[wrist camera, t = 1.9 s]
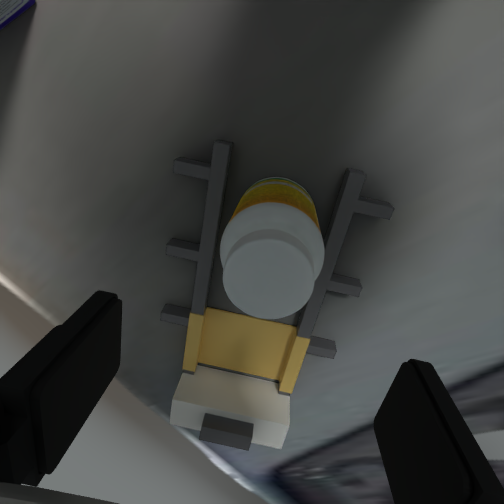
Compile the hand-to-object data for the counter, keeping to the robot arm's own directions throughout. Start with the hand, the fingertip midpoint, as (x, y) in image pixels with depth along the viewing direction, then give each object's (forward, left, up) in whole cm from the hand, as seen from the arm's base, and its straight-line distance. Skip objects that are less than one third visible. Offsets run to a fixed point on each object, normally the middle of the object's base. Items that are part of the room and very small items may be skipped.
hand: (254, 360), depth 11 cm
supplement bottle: (-1, 0, -14) cm, 14 cm away
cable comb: (+7, 0, -14) cm, 15 cm away
